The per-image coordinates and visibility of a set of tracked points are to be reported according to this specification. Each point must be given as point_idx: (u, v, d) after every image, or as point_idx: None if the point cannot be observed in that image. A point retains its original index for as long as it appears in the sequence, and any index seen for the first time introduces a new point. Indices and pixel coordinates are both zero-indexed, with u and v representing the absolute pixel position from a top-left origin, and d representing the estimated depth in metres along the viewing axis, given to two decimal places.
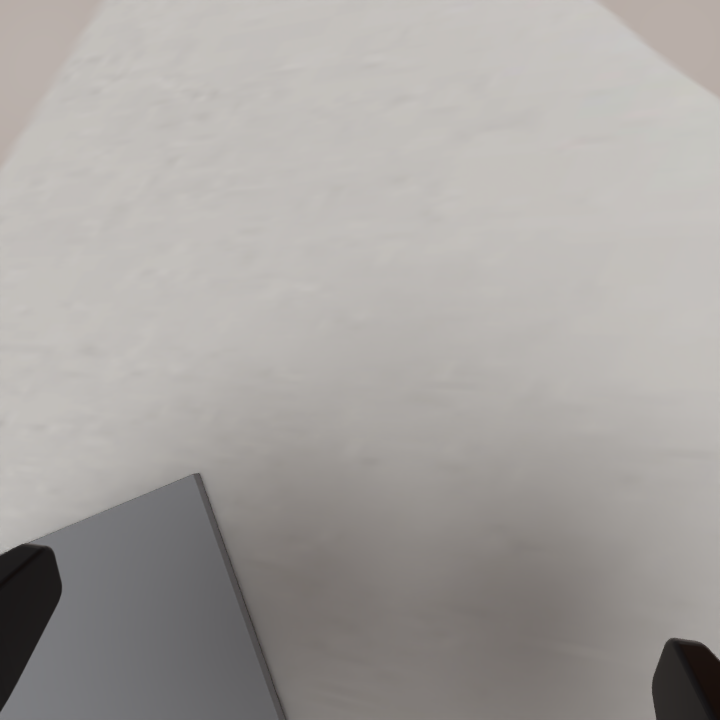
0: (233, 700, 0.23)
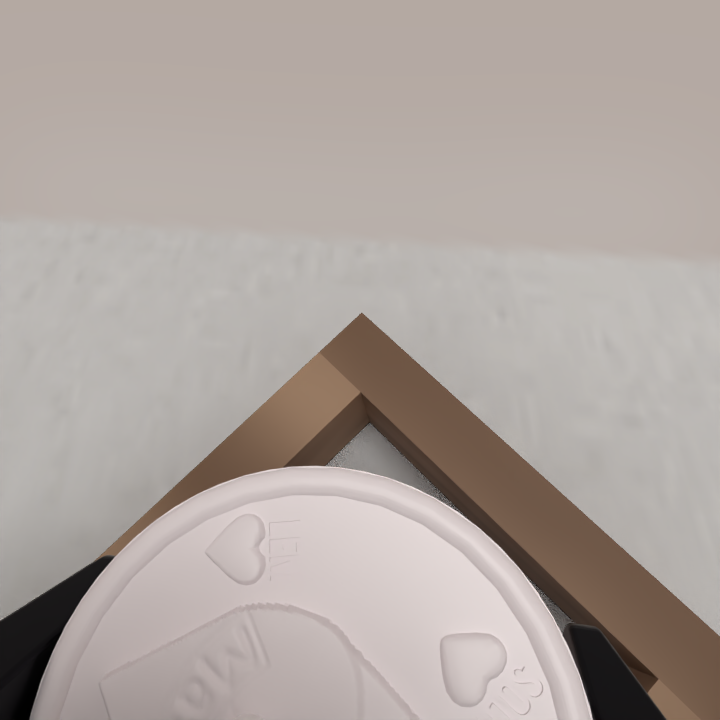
0: None
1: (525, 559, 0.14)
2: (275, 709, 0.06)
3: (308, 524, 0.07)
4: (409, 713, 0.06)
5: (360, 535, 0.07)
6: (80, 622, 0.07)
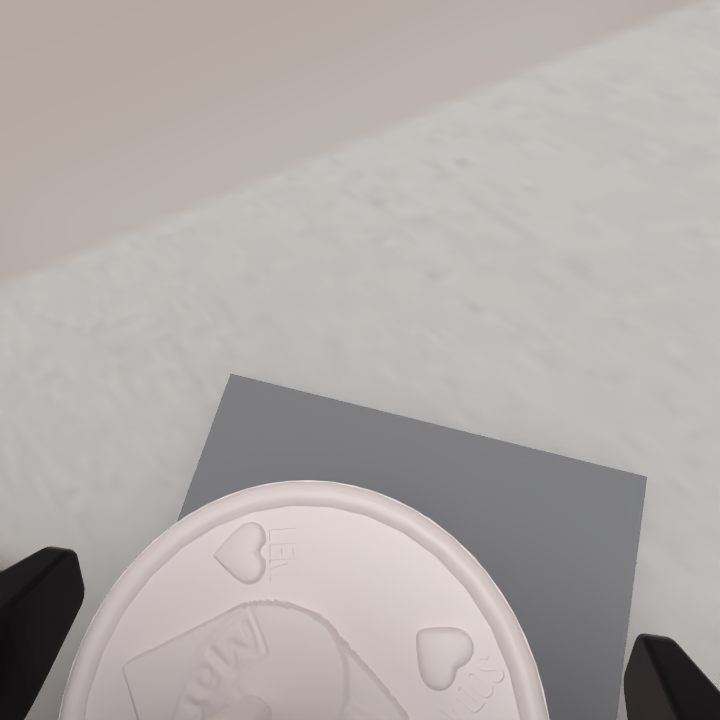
0: None
1: None
2: (273, 691, 0.07)
3: (303, 531, 0.08)
4: (388, 695, 0.07)
5: (348, 541, 0.08)
6: (106, 615, 0.08)
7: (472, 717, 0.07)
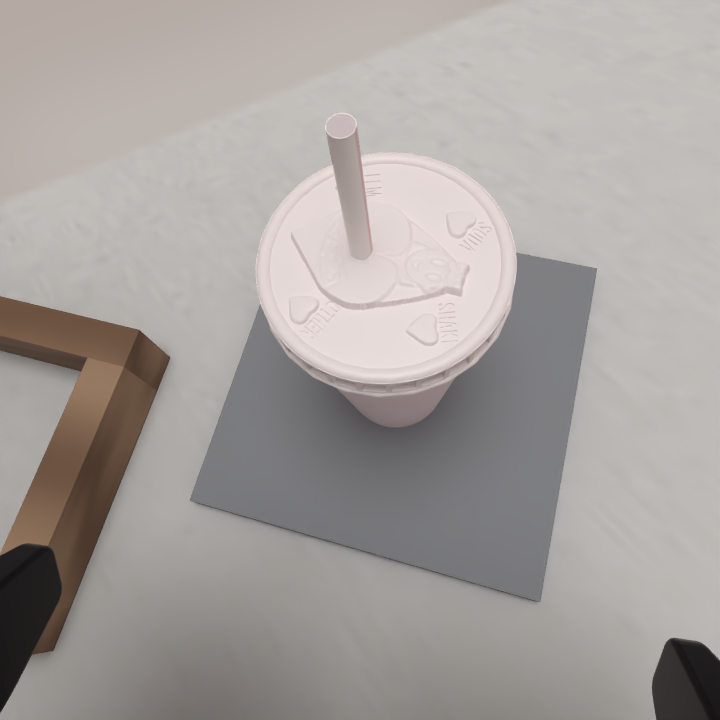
0: (523, 461, 0.22)
1: (28, 347, 0.24)
2: (373, 236, 0.14)
3: (384, 175, 0.15)
4: (432, 238, 0.14)
5: (408, 178, 0.15)
6: (276, 217, 0.15)
7: (475, 248, 0.14)
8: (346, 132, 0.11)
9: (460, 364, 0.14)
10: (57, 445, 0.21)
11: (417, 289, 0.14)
